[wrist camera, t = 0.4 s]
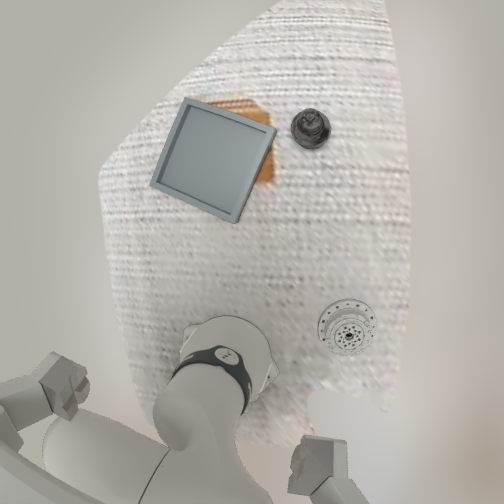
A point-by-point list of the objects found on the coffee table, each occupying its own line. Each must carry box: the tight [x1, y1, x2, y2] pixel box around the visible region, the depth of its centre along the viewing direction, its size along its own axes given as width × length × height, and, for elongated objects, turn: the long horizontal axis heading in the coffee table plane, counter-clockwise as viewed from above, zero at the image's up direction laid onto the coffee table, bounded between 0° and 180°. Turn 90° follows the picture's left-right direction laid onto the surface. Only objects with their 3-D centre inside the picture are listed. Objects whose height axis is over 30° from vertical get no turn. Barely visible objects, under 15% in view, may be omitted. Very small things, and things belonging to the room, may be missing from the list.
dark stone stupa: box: [291, 108, 331, 149], centre depth 42 cm, size 6×6×12 cm
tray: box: [149, 97, 277, 224], centre depth 50 cm, size 16×16×2 cm
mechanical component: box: [318, 299, 377, 356], centre depth 50 cm, size 10×4×10 cm
